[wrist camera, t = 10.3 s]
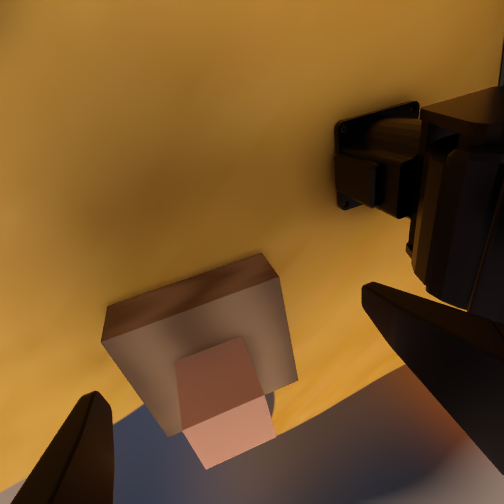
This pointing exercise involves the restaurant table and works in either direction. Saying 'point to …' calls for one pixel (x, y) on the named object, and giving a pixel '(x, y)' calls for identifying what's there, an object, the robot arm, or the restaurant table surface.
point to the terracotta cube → (222, 402)
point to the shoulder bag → (502, 73)
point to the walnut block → (200, 331)
